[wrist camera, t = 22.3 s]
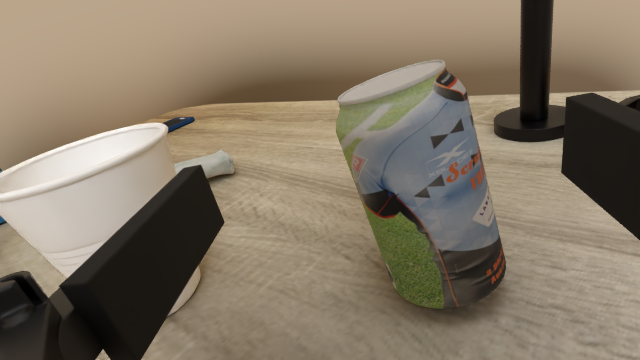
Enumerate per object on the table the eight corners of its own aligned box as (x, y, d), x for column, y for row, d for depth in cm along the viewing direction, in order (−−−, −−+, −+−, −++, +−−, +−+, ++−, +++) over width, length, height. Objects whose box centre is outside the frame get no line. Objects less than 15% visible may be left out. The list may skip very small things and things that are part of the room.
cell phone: (196, 119, 78) (195, 116, 77) (137, 145, 68) (135, 142, 68) (178, 120, 82) (176, 117, 82) (120, 144, 73) (118, 141, 73)
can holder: (877, 181, 19) (1087, -247, 12) (478, 170, 30) (468, -60, 23) (773, 104, 29) (858, -162, 22) (498, 117, 40) (496, -58, 33)
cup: (77, 302, 27) (-14, 171, 22) (202, 236, 31) (148, 116, 27) (88, 394, 19) (-49, 220, 14) (251, 288, 23) (187, 131, 19)
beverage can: (513, 332, 16) (513, 69, 11) (359, 317, 19) (305, 102, 14) (499, 246, 22) (495, 40, 17) (379, 245, 24) (345, 68, 19)
